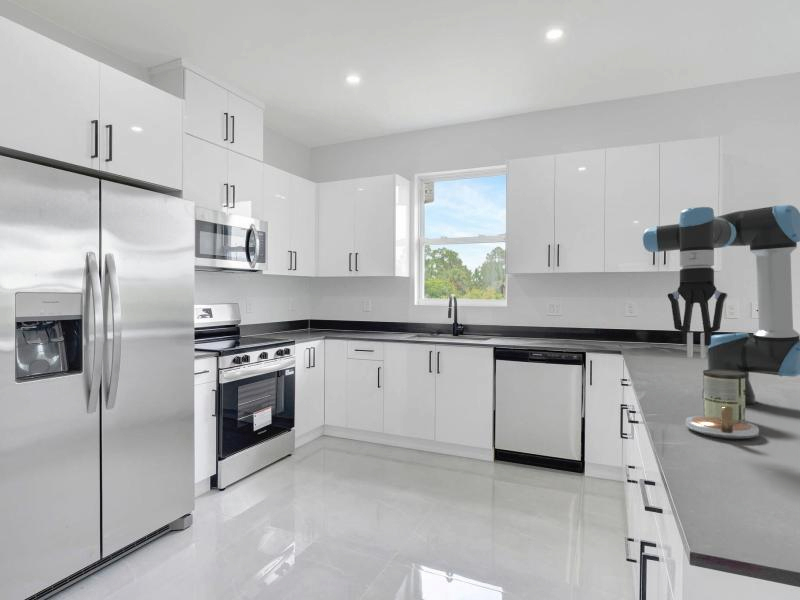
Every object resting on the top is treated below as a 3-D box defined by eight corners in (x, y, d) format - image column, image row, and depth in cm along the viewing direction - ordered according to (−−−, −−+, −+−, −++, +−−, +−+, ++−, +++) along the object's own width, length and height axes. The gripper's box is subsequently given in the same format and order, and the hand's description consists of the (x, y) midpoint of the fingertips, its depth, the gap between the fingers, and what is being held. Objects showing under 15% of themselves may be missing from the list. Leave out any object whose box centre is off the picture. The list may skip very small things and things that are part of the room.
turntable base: (700, 423, 132) (700, 421, 132) (752, 432, 123) (752, 429, 123) (689, 433, 123) (689, 430, 123) (744, 442, 115) (744, 439, 115)
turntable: (682, 418, 134) (682, 392, 134) (750, 424, 127) (750, 397, 127) (690, 434, 118) (690, 405, 118) (767, 442, 112) (767, 411, 112)
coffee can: (698, 414, 142) (698, 368, 142) (738, 416, 139) (738, 370, 139) (708, 422, 133) (708, 373, 133) (751, 425, 129) (751, 375, 129)
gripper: (659, 268, 123) (659, 356, 123) (729, 265, 112) (729, 362, 112) (667, 269, 128) (667, 353, 129) (735, 266, 118) (735, 358, 118)
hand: (696, 357), depth 121 cm, fingers open, 2 cm apart
